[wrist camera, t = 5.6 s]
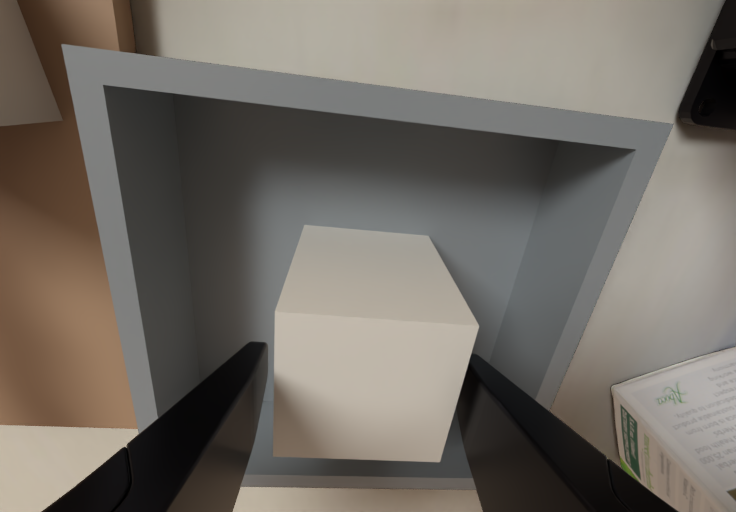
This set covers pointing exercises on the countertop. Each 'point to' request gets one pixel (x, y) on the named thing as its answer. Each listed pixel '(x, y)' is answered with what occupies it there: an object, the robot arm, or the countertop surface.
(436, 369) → the stone
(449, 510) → the countertop surface
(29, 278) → the brown rectangular board
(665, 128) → the bin
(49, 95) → the cream white block
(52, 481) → the countertop surface
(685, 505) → the syrup box
